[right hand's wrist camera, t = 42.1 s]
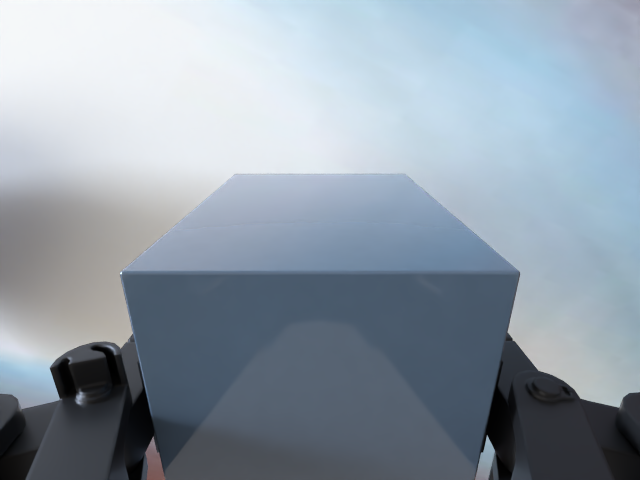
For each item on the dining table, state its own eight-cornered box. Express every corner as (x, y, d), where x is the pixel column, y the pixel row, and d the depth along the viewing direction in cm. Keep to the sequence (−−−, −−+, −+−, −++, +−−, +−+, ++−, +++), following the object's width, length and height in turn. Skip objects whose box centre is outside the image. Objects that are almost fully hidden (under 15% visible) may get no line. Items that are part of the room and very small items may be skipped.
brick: (234, 173, 14) (118, 271, 6) (405, 173, 14) (521, 271, 6) (250, 355, 17) (187, 582, 9) (390, 355, 17) (453, 583, 9)
